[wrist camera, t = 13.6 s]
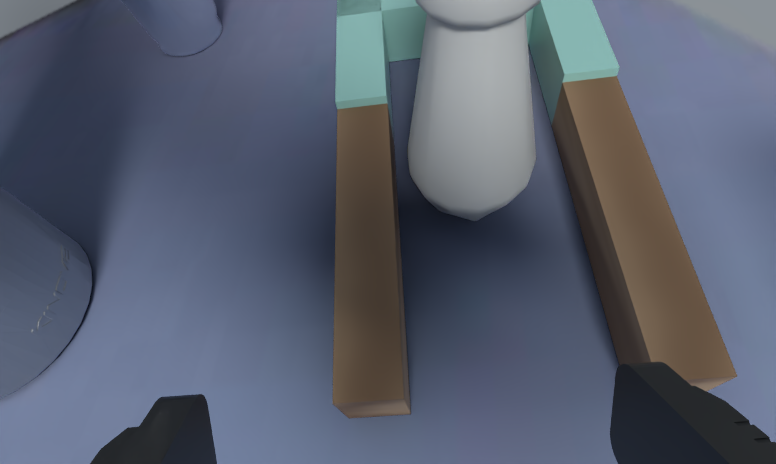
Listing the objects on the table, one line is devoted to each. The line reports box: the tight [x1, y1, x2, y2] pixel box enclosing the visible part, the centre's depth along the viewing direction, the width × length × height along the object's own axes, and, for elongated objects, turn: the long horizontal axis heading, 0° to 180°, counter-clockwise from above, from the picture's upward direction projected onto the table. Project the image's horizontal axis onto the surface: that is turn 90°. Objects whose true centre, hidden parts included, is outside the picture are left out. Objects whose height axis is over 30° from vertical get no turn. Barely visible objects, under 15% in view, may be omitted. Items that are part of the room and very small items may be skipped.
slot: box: [333, 76, 737, 418], centre depth 21 cm, size 13×14×3 cm
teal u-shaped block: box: [335, 0, 620, 140], centre depth 27 cm, size 13×8×4 cm, turn 92°
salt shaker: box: [407, 0, 541, 222], centre depth 19 cm, size 6×6×13 cm
